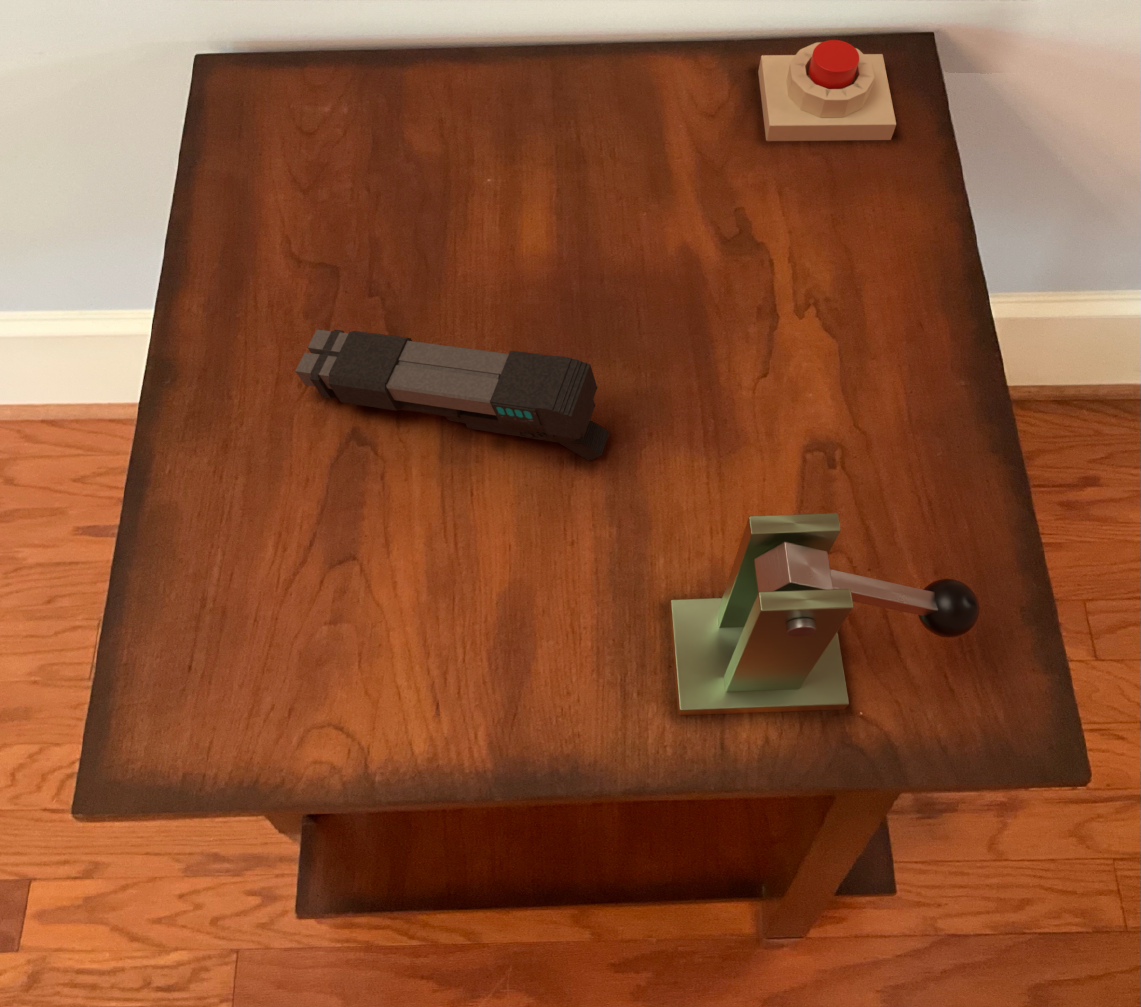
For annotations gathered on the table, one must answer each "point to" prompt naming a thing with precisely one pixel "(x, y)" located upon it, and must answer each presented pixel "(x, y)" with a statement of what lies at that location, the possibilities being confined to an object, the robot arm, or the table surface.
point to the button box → (824, 101)
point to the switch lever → (869, 588)
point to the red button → (833, 64)
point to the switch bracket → (763, 633)
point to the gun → (460, 385)
